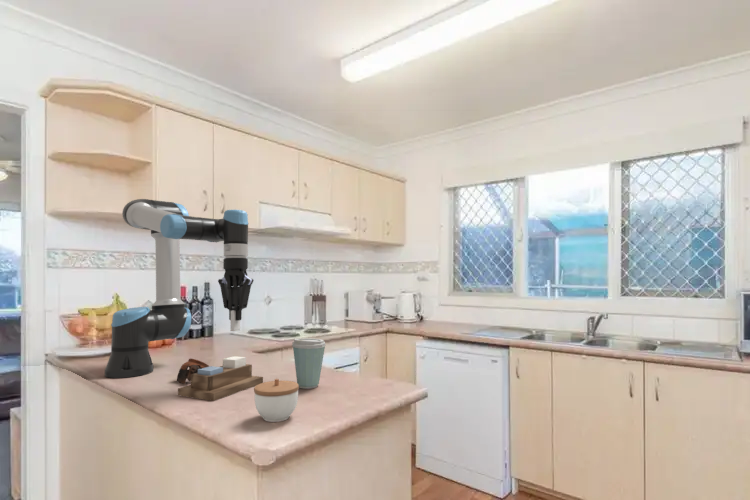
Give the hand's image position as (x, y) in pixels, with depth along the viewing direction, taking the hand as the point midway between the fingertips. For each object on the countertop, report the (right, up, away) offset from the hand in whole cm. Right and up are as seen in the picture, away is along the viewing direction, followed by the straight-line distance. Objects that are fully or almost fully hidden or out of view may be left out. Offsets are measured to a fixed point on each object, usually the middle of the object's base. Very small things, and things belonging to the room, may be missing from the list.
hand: (235, 330), depth 135 cm
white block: (0, -13, -1) cm, 13 cm away
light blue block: (-4, -14, -10) cm, 17 cm away
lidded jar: (+21, -16, -32) cm, 41 cm away
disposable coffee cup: (+24, -17, -3) cm, 30 cm away
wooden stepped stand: (-2, -17, -5) cm, 18 cm away
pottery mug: (-16, -18, +5) cm, 25 cm away
